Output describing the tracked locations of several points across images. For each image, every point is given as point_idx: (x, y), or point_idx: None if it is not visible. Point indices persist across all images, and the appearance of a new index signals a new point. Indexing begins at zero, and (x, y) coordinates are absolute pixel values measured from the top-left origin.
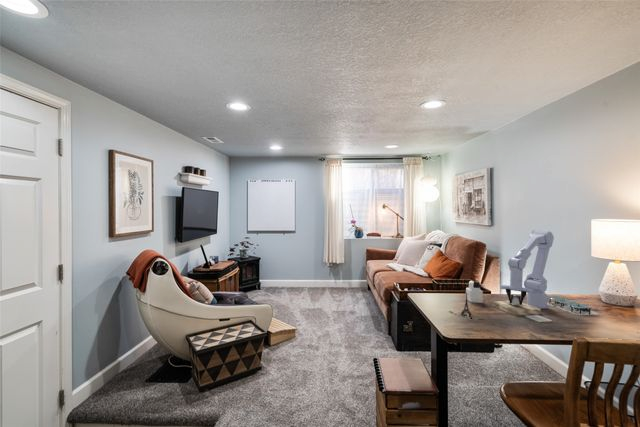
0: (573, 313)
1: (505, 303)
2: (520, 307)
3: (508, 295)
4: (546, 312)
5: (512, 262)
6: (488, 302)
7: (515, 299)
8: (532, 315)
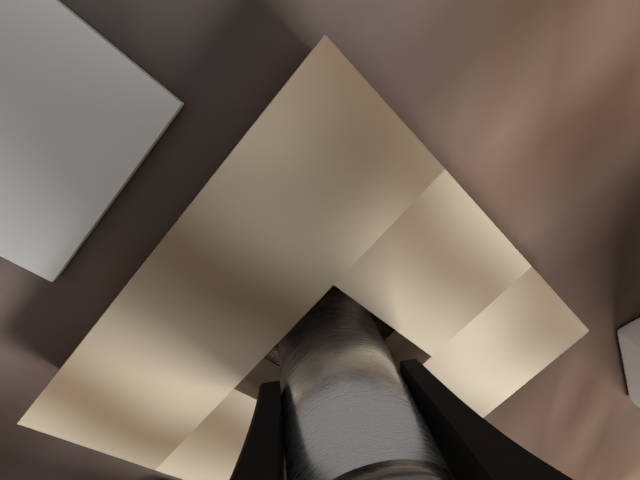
0: None
1: (449, 361)
2: (270, 320)
3: (529, 461)
4: (33, 463)
5: None
6: (553, 382)
7: (369, 418)
8: (98, 204)
